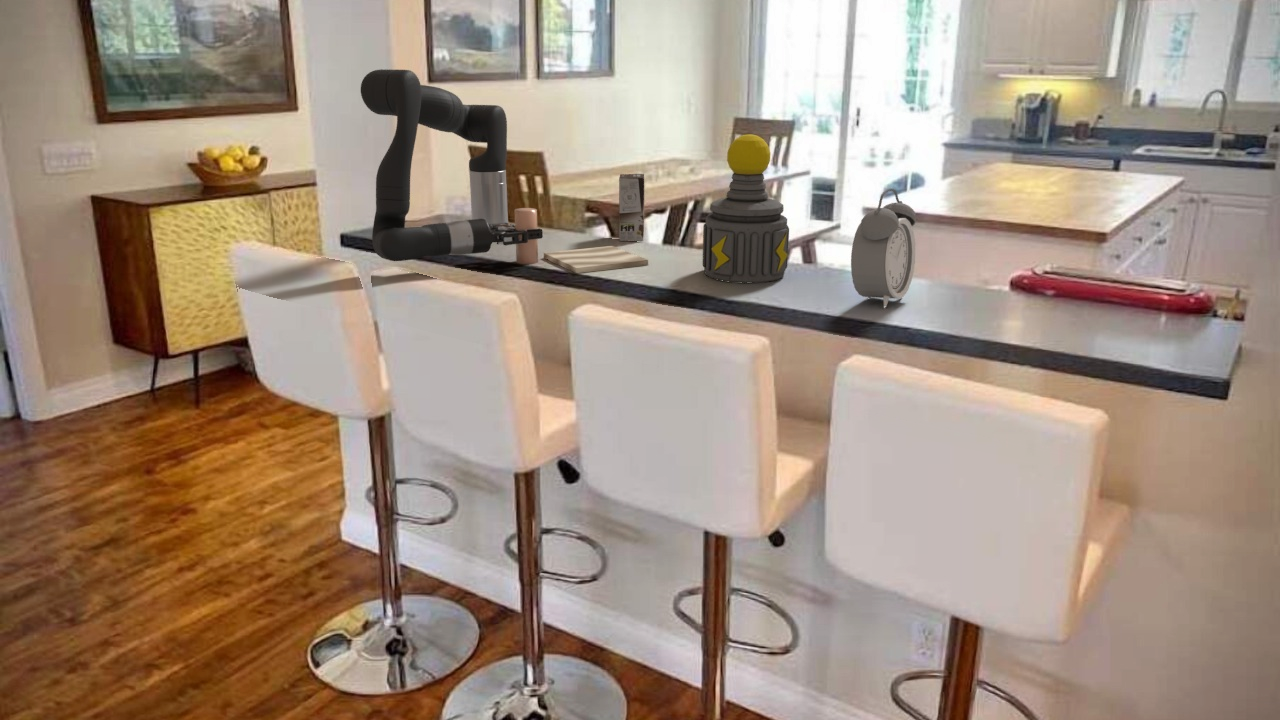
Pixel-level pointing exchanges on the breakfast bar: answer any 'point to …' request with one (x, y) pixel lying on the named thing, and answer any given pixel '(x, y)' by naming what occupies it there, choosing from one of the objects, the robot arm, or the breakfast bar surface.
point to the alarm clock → (884, 251)
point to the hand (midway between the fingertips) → (535, 230)
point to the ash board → (595, 259)
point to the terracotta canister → (529, 250)
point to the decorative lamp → (746, 221)
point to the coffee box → (631, 207)
